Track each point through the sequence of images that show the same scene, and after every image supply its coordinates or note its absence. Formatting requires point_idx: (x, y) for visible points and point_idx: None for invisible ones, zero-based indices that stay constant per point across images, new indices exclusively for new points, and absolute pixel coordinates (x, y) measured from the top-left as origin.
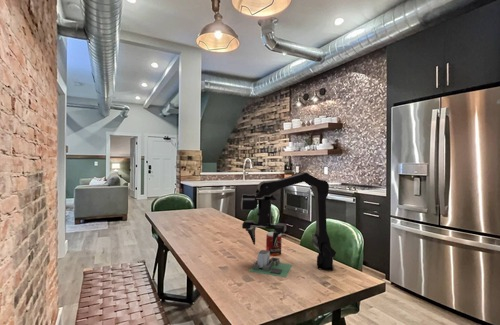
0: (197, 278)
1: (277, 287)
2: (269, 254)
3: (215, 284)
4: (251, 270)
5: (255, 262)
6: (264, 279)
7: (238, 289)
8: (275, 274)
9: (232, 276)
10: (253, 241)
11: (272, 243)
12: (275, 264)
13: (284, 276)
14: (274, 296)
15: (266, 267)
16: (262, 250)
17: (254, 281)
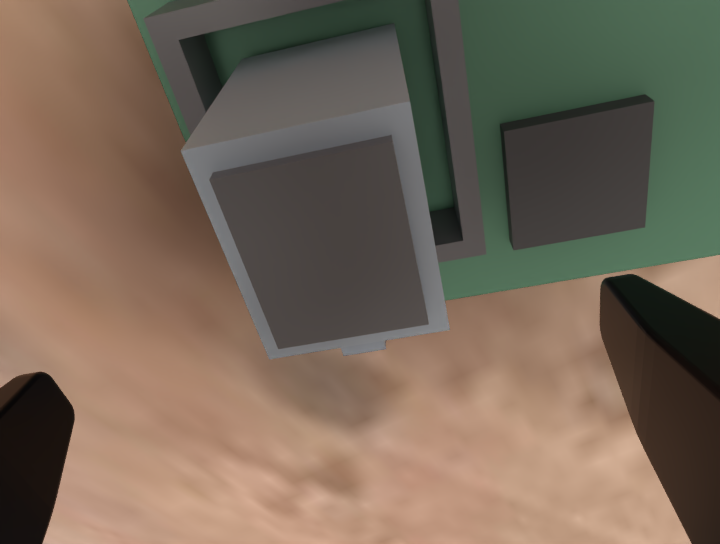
0: None
1: None
2: (404, 78)
3: (200, 540)
4: None
5: None
6: (483, 333)
7: (380, 525)
8: (585, 245)
9: (189, 417)
10: (35, 526)
11: (647, 454)
12: None
13: (708, 238)
14: (655, 496)
15: (450, 252)
16: (260, 211)
17: (416, 402)
